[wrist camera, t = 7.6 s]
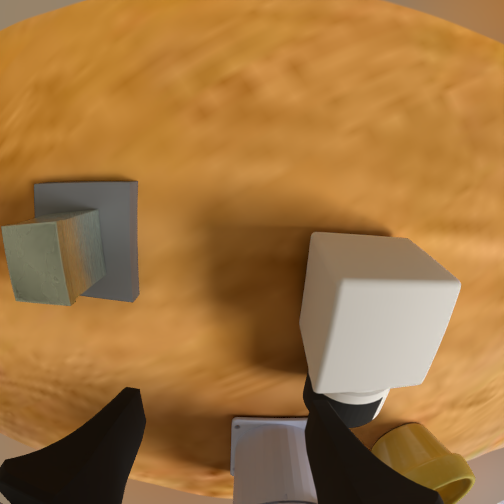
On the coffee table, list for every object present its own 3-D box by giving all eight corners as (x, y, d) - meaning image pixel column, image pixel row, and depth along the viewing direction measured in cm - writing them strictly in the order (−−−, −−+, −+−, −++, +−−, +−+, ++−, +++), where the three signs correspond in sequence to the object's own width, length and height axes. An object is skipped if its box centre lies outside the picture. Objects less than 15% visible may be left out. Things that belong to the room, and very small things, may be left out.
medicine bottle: (310, 229, 20) (290, 373, 24) (338, 280, 13) (298, 443, 17) (408, 236, 20) (371, 370, 24) (465, 282, 13) (396, 433, 17)
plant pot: (394, 474, 28) (416, 531, 19) (334, 463, 27) (352, 535, 17) (454, 419, 26) (491, 475, 16) (402, 400, 24) (443, 474, 15)
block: (141, 291, 22) (133, 302, 20) (55, 280, 22) (42, 289, 20) (140, 180, 20) (130, 182, 18) (49, 181, 20) (34, 184, 18)
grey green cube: (107, 275, 19) (70, 306, 15) (56, 274, 20) (15, 300, 15) (99, 207, 18) (56, 221, 13) (46, 212, 18) (1, 226, 14)
